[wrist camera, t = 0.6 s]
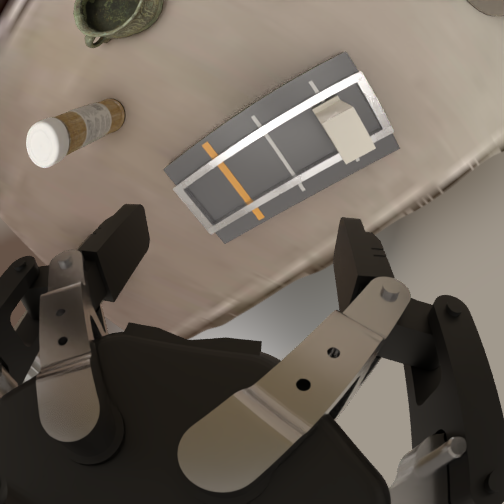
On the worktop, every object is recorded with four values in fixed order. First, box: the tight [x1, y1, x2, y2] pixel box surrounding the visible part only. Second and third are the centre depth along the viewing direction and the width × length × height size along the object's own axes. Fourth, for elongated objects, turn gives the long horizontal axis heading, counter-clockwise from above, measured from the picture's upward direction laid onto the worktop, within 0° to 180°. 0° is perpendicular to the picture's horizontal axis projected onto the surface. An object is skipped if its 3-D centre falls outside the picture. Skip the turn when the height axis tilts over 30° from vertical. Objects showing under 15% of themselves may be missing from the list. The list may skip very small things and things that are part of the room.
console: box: [164, 51, 400, 244], centre depth 31 cm, size 24×12×3 cm, turn 125°
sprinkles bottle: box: [26, 99, 125, 168], centre depth 26 cm, size 5×5×13 cm
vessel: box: [73, 0, 163, 48], centre depth 21 cm, size 12×9×6 cm
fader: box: [312, 95, 376, 164], centre depth 25 cm, size 3×5×7 cm, turn 35°
